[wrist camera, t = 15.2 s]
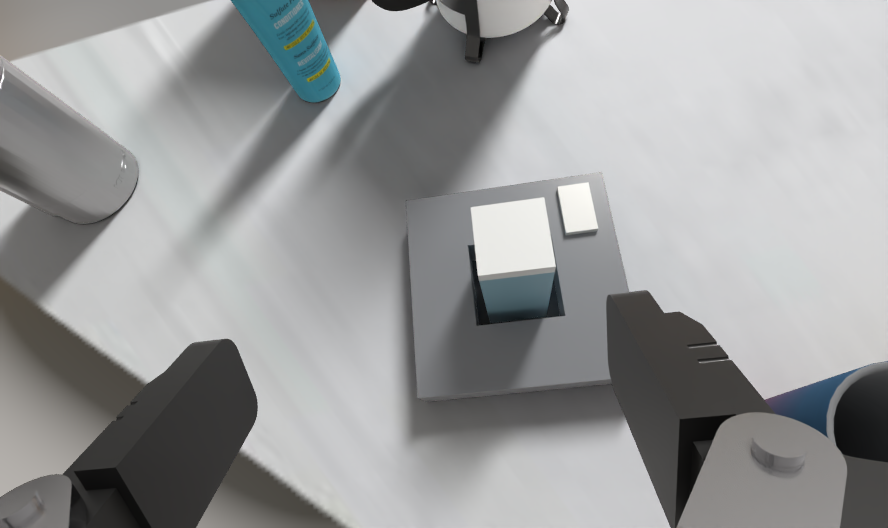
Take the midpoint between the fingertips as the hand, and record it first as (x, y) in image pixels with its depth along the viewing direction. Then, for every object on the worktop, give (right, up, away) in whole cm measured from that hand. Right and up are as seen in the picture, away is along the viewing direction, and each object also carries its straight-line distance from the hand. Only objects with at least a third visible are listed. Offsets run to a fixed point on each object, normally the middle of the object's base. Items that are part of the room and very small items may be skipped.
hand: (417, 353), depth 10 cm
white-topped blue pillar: (+6, 0, +30) cm, 30 cm away
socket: (+6, 0, +30) cm, 30 cm away
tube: (-12, +21, +41) cm, 47 cm away
